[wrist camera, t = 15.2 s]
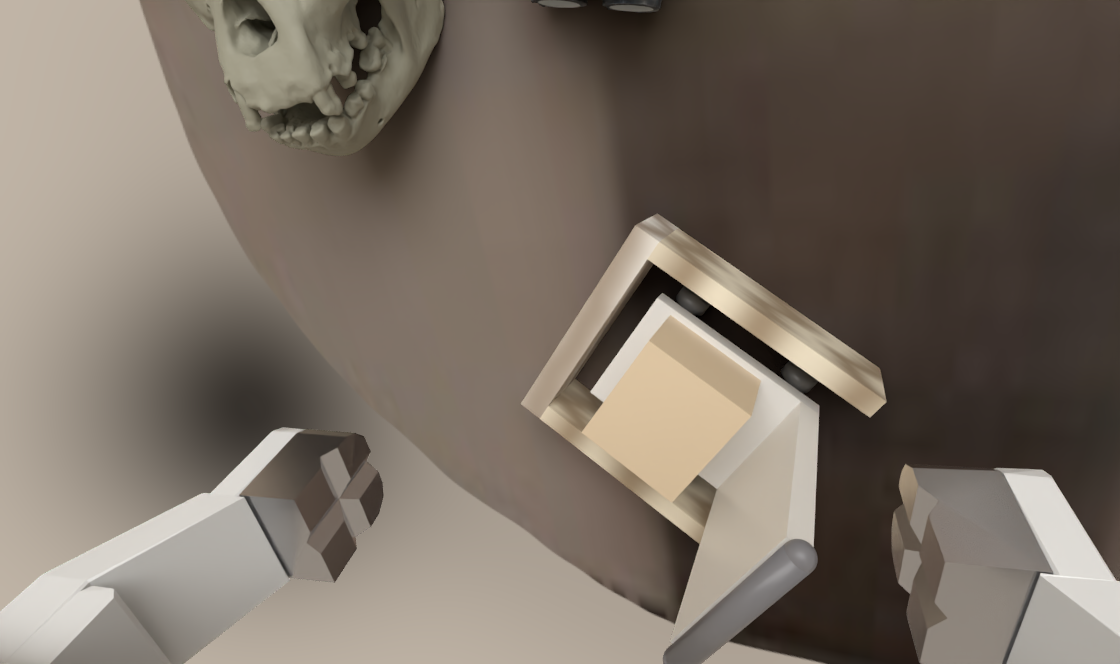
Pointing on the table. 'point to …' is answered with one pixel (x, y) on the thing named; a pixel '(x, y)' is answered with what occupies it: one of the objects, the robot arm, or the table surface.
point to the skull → (320, 65)
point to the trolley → (716, 462)
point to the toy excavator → (607, 4)
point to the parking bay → (731, 294)
